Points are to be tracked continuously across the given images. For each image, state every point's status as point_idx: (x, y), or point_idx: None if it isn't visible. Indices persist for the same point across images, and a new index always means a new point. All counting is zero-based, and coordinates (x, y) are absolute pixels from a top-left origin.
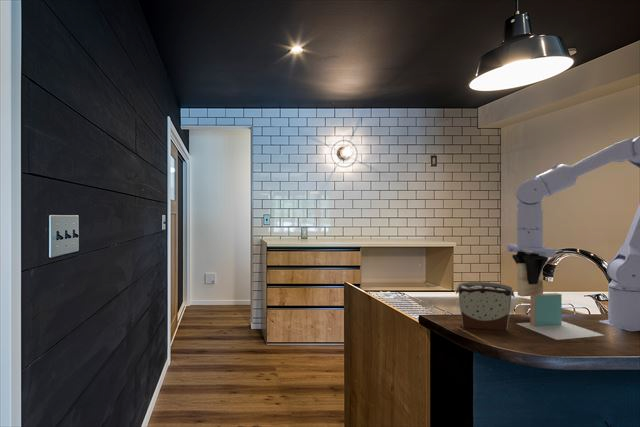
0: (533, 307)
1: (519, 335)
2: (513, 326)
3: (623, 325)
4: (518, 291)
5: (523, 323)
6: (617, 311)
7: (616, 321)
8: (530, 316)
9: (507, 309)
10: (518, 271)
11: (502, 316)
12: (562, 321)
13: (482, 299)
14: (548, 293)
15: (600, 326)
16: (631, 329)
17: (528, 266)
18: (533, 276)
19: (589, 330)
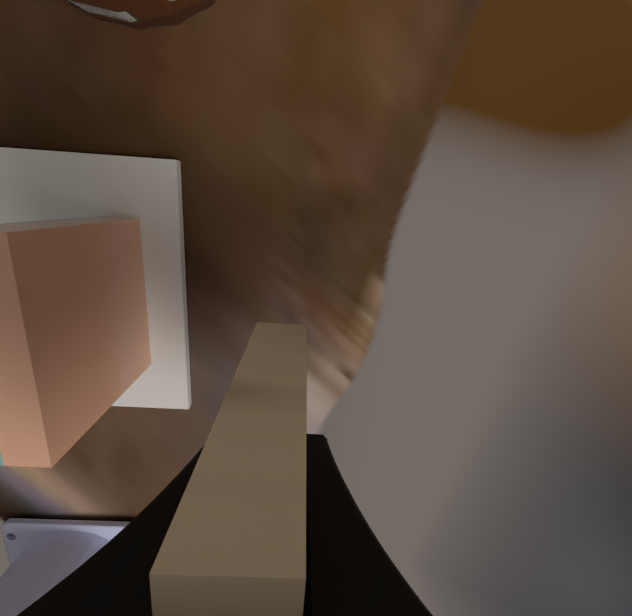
0: (46, 222)
1: (11, 33)
2: (173, 138)
3: (36, 541)
4: (296, 335)
5: (169, 202)
6: (14, 593)
7: (52, 546)
8: (117, 221)
9: None
10: (277, 447)
11: None
12: (163, 404)
13: None
14: (39, 407)
15: (106, 496)
16: (16, 538)
17: (86, 597)
18: None
19: None
